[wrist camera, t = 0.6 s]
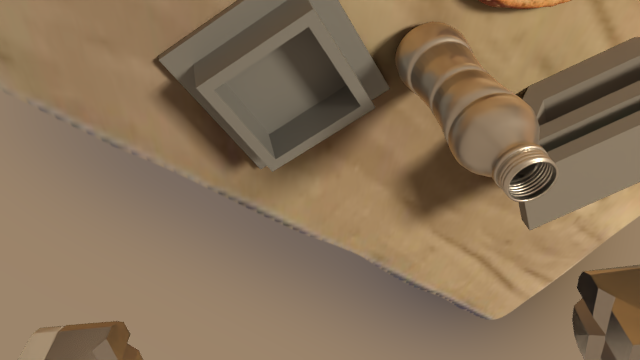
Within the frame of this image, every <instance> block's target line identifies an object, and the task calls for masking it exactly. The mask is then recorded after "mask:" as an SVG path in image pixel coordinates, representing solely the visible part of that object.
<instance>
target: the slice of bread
mask: <svg viewBox="0 0 640 360" xmlns="http://www.w3.org/2000/svg"><path fill="white" fill-rule="evenodd" d="M478 1H480V2H482V3H484V4H486V5H488V6H493V7H508V8H516V9H528V8H539V7H551V6H554V5H557V4H560V3H565V2H568V1H571V0H478Z"/></svg>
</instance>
